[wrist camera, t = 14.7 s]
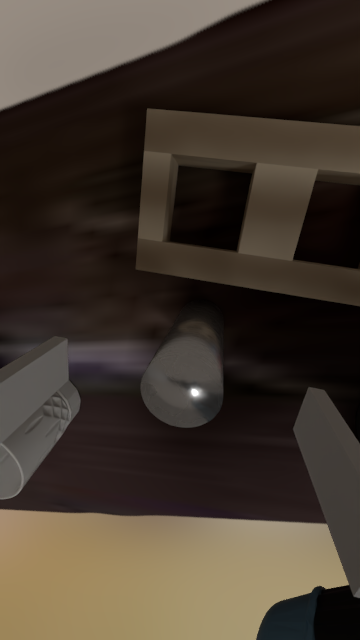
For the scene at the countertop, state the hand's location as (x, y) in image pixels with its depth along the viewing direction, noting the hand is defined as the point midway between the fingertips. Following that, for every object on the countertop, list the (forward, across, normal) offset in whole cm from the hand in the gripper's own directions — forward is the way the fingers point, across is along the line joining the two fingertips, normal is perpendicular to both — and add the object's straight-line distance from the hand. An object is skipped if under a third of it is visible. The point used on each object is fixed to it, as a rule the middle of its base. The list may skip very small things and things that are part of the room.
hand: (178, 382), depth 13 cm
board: (+12, +4, +10) cm, 16 cm away
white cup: (+12, -16, -13) cm, 24 cm away
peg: (+11, 0, 0) cm, 11 cm away
